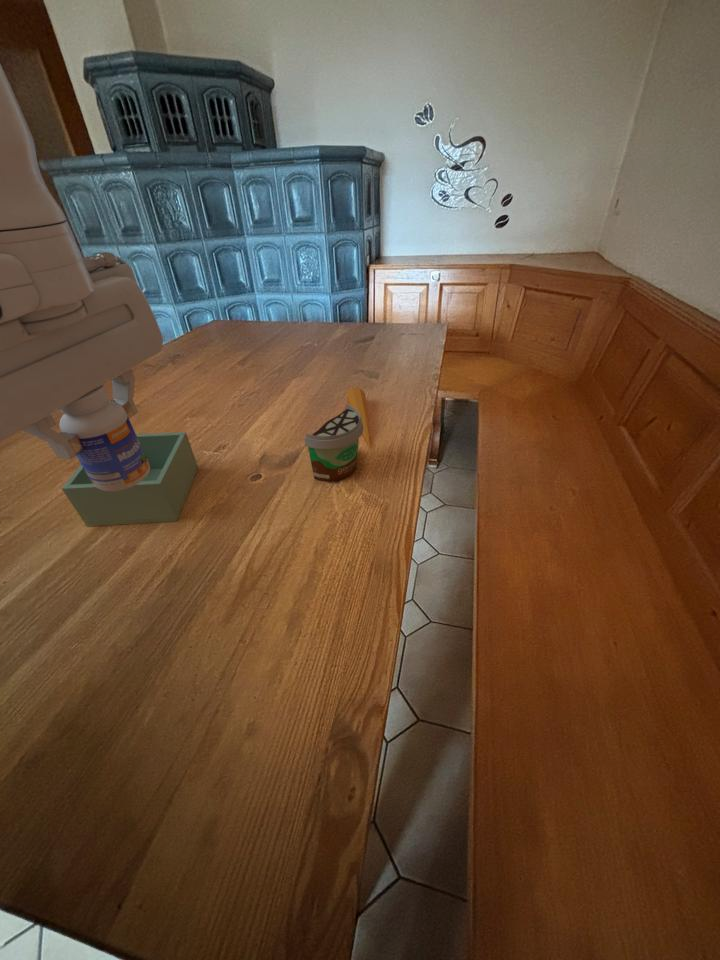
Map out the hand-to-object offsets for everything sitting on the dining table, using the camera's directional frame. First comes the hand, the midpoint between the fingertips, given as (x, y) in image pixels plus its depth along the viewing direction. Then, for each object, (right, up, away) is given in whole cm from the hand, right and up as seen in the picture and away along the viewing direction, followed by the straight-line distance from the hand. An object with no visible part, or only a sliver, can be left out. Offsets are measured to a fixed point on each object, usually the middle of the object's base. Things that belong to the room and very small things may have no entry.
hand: (101, 434), depth 37 cm
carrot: (+25, +7, +45) cm, 52 cm away
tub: (-11, -7, +28) cm, 31 cm away
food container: (+22, -3, +33) cm, 40 cm away
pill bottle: (0, -4, +3) cm, 5 cm away
